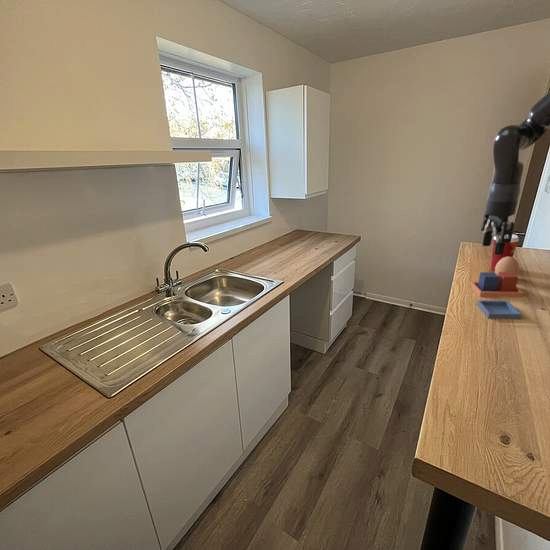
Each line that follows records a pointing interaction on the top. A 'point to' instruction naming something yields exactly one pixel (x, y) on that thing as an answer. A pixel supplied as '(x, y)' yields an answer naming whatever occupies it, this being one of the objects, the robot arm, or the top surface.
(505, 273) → the terracotta pillar
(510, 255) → the paper cup
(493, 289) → the slate pillar
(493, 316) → the slate tray
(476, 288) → the terracotta tray
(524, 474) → the top surface
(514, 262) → the egg
